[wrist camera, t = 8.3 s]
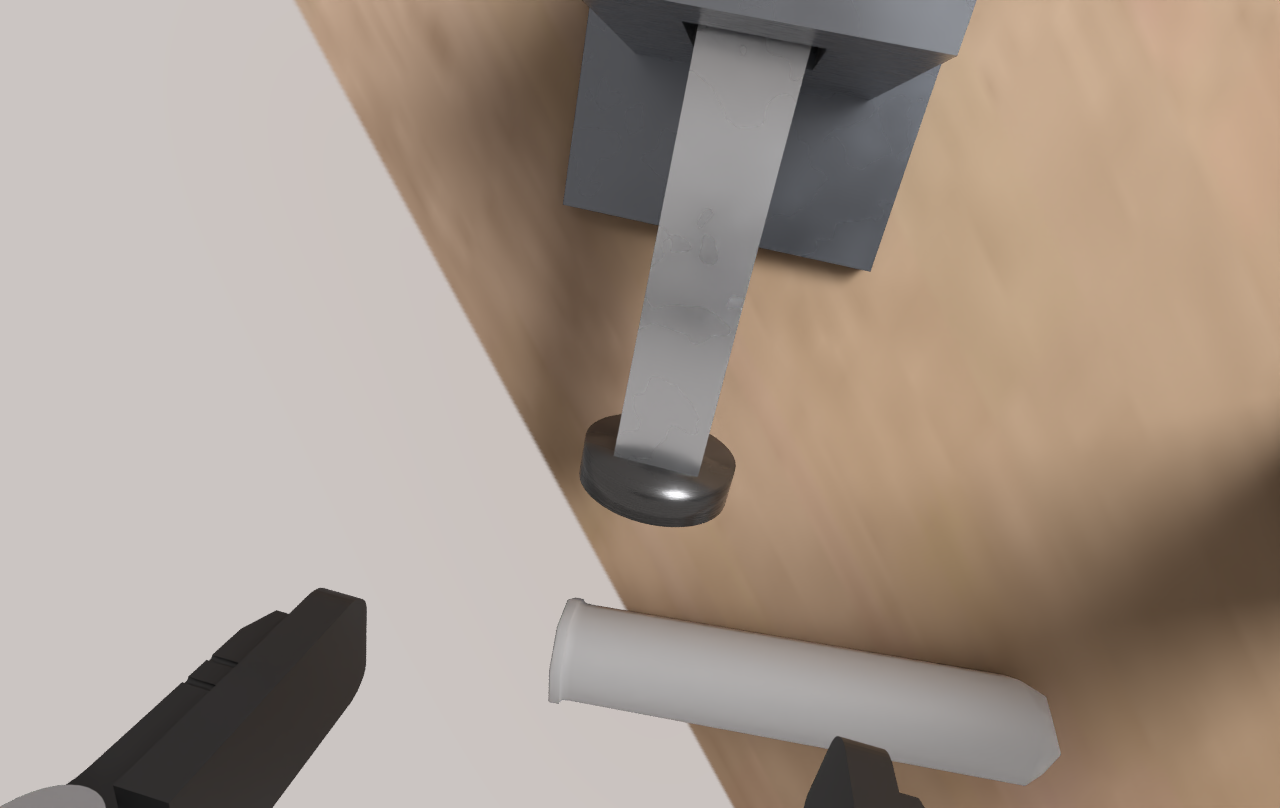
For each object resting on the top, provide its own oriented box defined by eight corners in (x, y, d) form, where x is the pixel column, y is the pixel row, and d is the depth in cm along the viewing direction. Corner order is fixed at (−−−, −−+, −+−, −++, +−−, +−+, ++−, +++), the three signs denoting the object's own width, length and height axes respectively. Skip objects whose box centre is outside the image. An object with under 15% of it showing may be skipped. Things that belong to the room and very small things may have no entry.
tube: (1091, 712, 27) (555, 619, 30) (1072, 823, 28) (543, 721, 30) (1030, 656, 33) (578, 581, 35) (1013, 751, 33) (568, 669, 36)
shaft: (874, -53, 18) (926, -140, 13) (727, 466, 25) (723, 543, 20) (692, -86, 19) (672, -182, 13) (598, 434, 26) (561, 501, 20)
